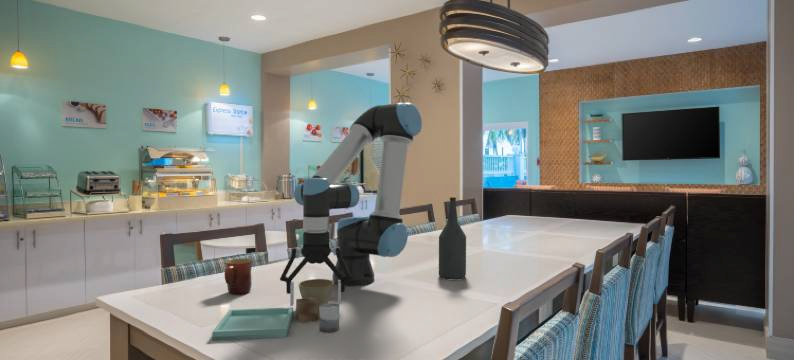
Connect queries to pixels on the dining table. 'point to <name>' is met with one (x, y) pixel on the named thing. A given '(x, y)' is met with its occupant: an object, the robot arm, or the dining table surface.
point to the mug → (238, 275)
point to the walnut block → (307, 310)
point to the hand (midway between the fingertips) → (315, 304)
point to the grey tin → (329, 317)
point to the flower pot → (316, 290)
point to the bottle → (452, 247)
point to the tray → (254, 324)
